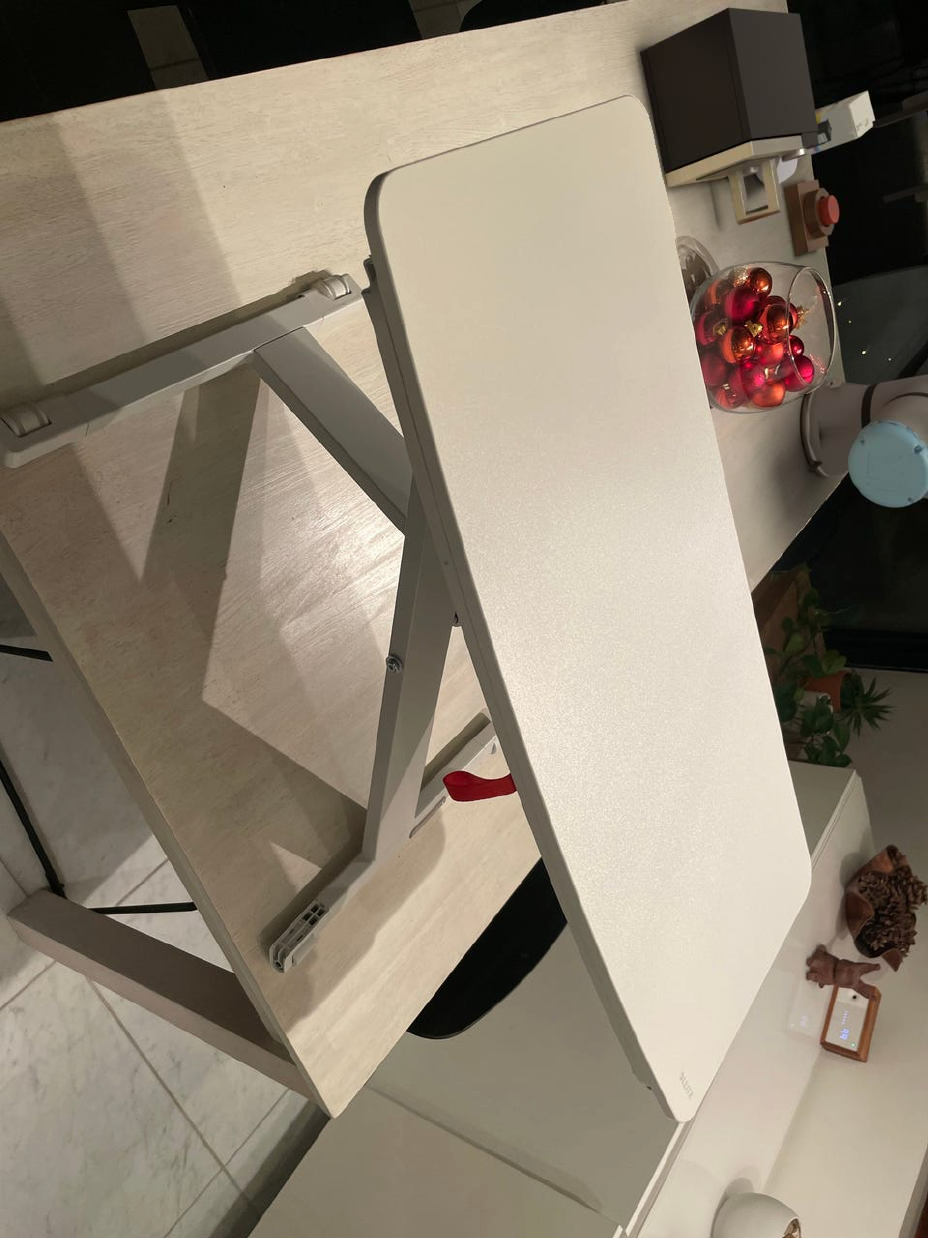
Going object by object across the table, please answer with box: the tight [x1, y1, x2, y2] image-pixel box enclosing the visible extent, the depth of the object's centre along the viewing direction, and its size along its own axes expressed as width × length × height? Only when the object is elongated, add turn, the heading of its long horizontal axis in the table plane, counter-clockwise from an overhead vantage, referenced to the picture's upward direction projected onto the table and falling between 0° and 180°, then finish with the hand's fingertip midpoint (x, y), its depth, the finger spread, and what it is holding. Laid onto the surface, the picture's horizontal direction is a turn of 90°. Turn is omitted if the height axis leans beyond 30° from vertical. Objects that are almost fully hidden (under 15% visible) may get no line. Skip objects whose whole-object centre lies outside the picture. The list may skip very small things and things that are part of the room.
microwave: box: [639, 7, 819, 178], centre depth 120 cm, size 16×20×12 cm
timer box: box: [783, 179, 835, 257], centre depth 146 cm, size 10×8×4 cm
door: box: [665, 135, 803, 226], centre depth 121 cm, size 8×15×12 cm, turn 111°
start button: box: [818, 195, 840, 226], centre depth 144 cm, size 4×4×2 cm
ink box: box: [797, 90, 876, 160], centre depth 140 cm, size 9×5×12 cm, turn 123°
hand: (882, 161), depth 116 cm, fingers open, 8 cm apart
